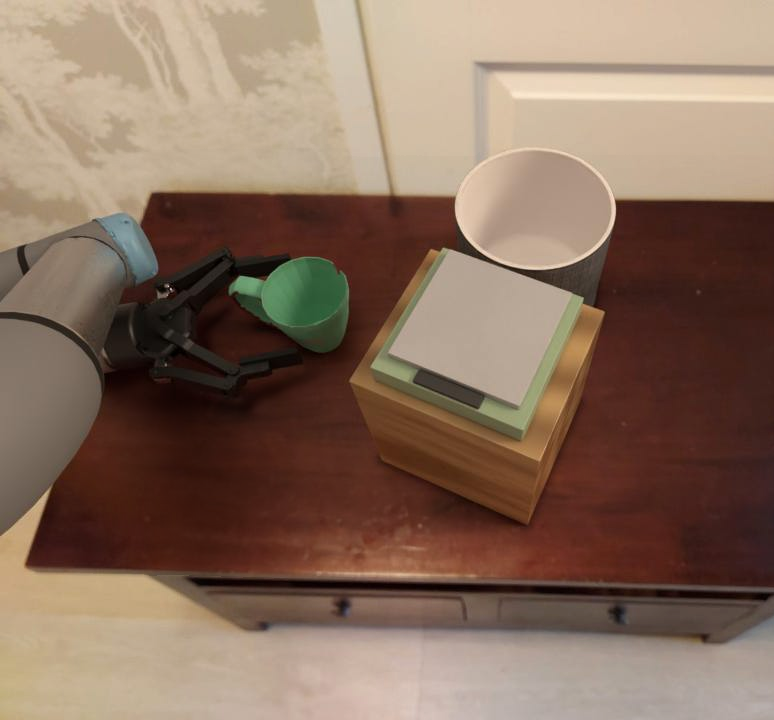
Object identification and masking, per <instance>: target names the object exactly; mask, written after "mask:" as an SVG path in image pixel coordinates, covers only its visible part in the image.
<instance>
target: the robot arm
mask: <svg viewBox="0 0 774 720" xmlns="http://www.w3.org/2000/svg"><path fill="white" fill-rule="evenodd" d="M290 260H293V258H292V257H291V254H290V253H289V252H287V253H281V254H275V255H269V256H264V255H263V254H258V253H257V254H254V255H247V256H240V257H236V256H234V254H233V252H232V249H230V247H229V246H227V245H224V246H221V247H219V248H217V249H216V250H214V251H212V252H210V253H209V254H207V255H204V256H202V257H201V258H199V259H198V260H196V261H194V262H192V263H190V264H189V265H186V266H185V267H183V268H181V269H179V270H178V271H176V272H174V273H171V274H170V275H166V276H161V277H158V278H155V279H154V280H153V281H152V286H153V287H154V288H155V289H156V294H157V295H156V296H157V299H155V300H153V301H152V302H148V303H147V302H145V303H144V302H136V301H135V302H127V303H122V304H120V301H121V298H122V296H123V294H124V291H125V290H126V289H129V288H131V287H138V286H139V285H140V284H142V283H144V282H146V281H148V280H151V279H153V278H154V277H156V276H157V275H158V272H159V263H158V259H157V257H156V254H155V252H154V249H153V247H152V245H151V243H150V240H149V239H148V237H147V235H146V234H145V232H144V229H142V227H141V226H140V224H139V223H138V221H137V220H136V219H135V218H134V217H133V216H131V214H129V213H127V212H117V213H113V214H110V215H107V216H104V217H103V216H102V217H95V218H92V219H91V221H88V222H86V223H85V222H84V223H82V224H79V225H77V226H74V227H70V228H69V229H66V230H63V231H60V232H57V233H55V234H52V235H49V236H46V237H43V238H40V239H37V240H34V241H31V242H29V243H25V244H21V245H18V246H15V247H12V248H9V249H6V250H4V251H3V250H2V251H1V252H0V537H2V536H3V535H4V534H6V532H8V531H9V530H10V529H12V528H13V527H14V525H15V524H17V523H18V522H19V521H20V520H21V519H22V518H23V517H24V516H25V515H26V514H27V513H28V512H29V511H30V510H31V509H32V508H33V507H34V506H35V505H36V504H37V503H38V502H39V501H40V500H41V498H43V497H44V495H45V494H46V493H47V491H48V490H50V489H51V487H52V486H53V485H54V484H55V482H56V481H57V480H58V478H59V477H60V476H61V474H62V473H63V472H64V470H65V469H66V468H67V467H68V465H69V464H70V462H71V461H72V460H73V459H74V458H75V457H76V455H77V453H78V451H79V450H80V448H81V446H82V445H83V443H84V442H85V440H86V438H87V437H88V436H89V433H90V432H91V430H92V428H93V425H94V423H95V421H96V418H97V416H98V414H99V410H100V408H101V405H102V401H103V397H104V392H105V386H106V385H105V383H106V382H105V374H108V373H113V372H117V371H118V370H121V371H126V370H132V369H137V368H138V369H139V368H142V367H144V368H145V367H149V366H151V365H154V366H153V367H151V368H150V369H149V370H148V372H147V373H148V376H149V377H150V378H151V379H152V380H153V381H154V382H155V383H156V384H157V385H158V386H159V387H171V386H172V387H173V386H180V387H184V388H188V389H192V390H195V391H200V392H204V393H208V394H212V395H216V396H219V397H222V398H223V397H224V398H228V399H232V400H235V399H238V398H239V397H240V395H241V392H240V390H241V388H243V387H246V386H247V384H248V382H249V381H251V380H256V379H261V378H266V377H270V376H272V375H273V371H274V370H279V369H285V368H289V367H295V366H300V365H304V359H303V356H302V354H301V353H300V351H299V349H298V347H297V346H296V347H295V346H294V347H289V348H283V349H278V350H272V351H267V352H266V351H265V352H261V353H256V354H251V355H245V356H240V357H239V356H238V361H237V363H238V365H237V364H235V363H233V362H232V361H230V360H227V359H226V358H223V357H222V356H220V355H218V354H216V353H214V352H213V351H210V350H209V349H207V348H205V347H203V346H201V345H200V344H198V343H196V341H198V333H197V327H198V317H197V315H199V314H200V313H201V312H202V309H203V307H204V306H205V305H207V303H208V302H210V301H211V300H212V299H213V298H215V297H216V296H217V295H218V294H219V293H220V292H221V291H223V289H225V288H226V287H227V286H229V284H232V283H233V282H234V281H235V280H236V279H237V278H239V277H240V276H245V277H251V278H256V279H259V278H264V277H269V275H270V274H271V273H272V272H273V271H274V270H276V269H277V268H278V267H279V266H280V265H282V264H284V263H286V262H288V261H290ZM186 303H187V305H186ZM179 356H183V357H184V358H187V359H189V360H190V361H192V362H194V363H195V362H196V363H198V364H200V365H201V366H204V367H205V368H207V369H209V370H211V371H213V372H215V373H216V374H218V375H220V376H222V377H220V376H216V375H212V374H208V373H203V372H200V371H197V370H196V371H195V370H191V369H187V368H183V367H178V366H174V365H172V364H171V362H173V361H174V360H175V359H176V358H178V357H179Z"/></svg>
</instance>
